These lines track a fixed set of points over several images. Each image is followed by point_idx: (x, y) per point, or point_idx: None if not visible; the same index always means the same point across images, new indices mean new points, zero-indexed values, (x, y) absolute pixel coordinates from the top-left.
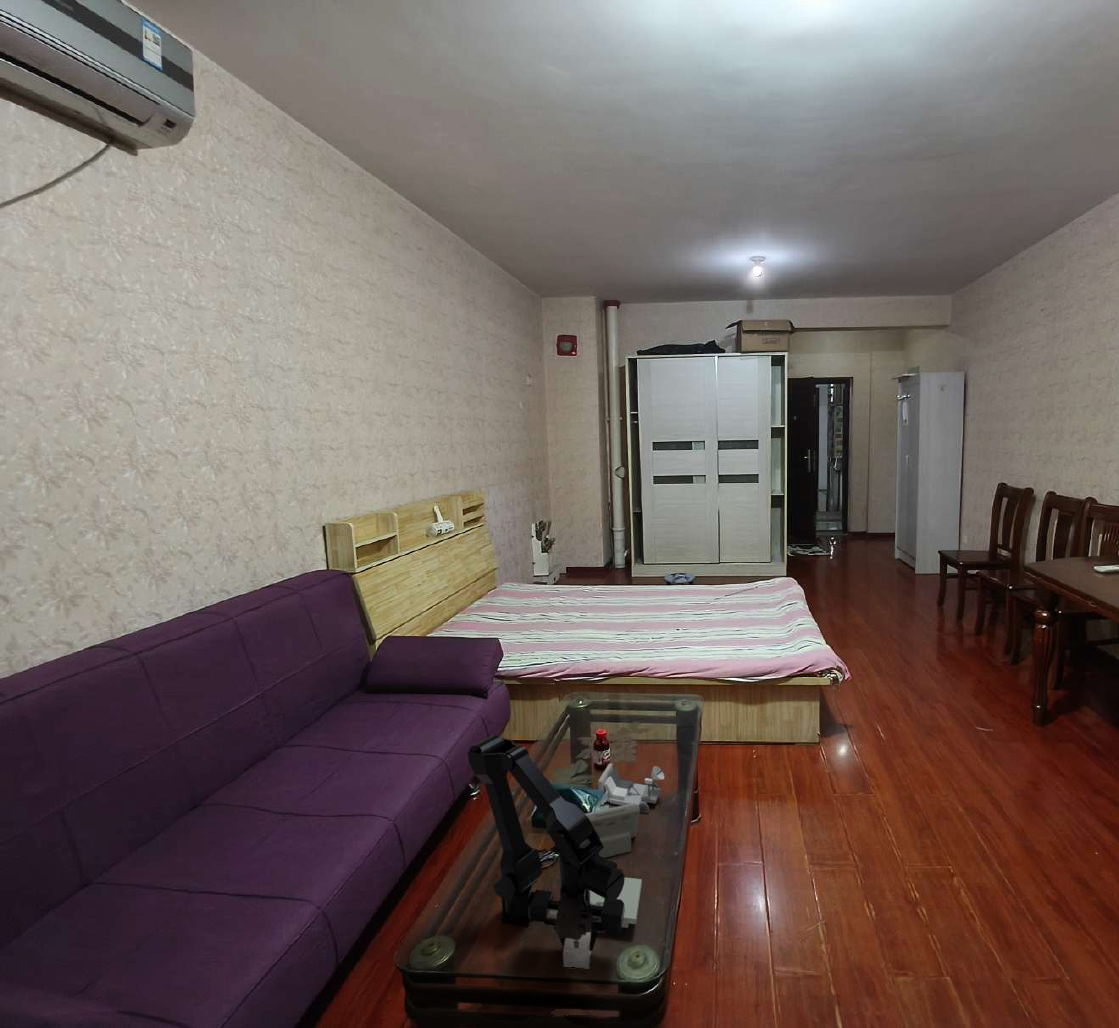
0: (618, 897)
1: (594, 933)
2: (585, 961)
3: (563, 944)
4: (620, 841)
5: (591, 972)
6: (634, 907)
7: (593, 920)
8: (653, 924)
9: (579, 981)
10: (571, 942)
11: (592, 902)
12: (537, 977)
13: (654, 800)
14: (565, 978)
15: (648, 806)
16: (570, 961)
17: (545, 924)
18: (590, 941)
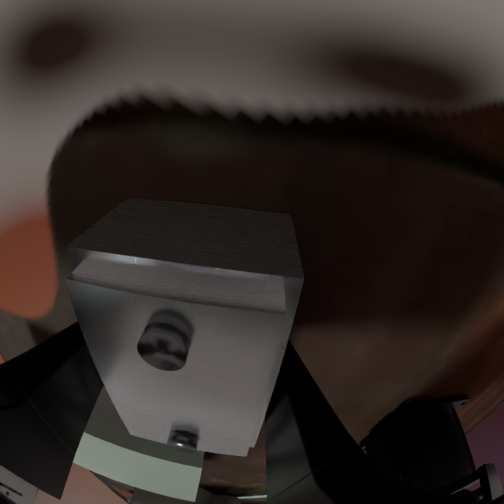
0: (81, 453)
1: (7, 382)
2: (122, 220)
3: (287, 351)
4: (148, 500)
5: (115, 178)
6: None
7: (2, 467)
8: None
9: (181, 105)
10: (215, 361)
11: (155, 472)
12: (446, 162)
13: (128, 500)
14: (280, 128)
15: None
16: (238, 228)
17: (477, 497)
18: (81, 344)
